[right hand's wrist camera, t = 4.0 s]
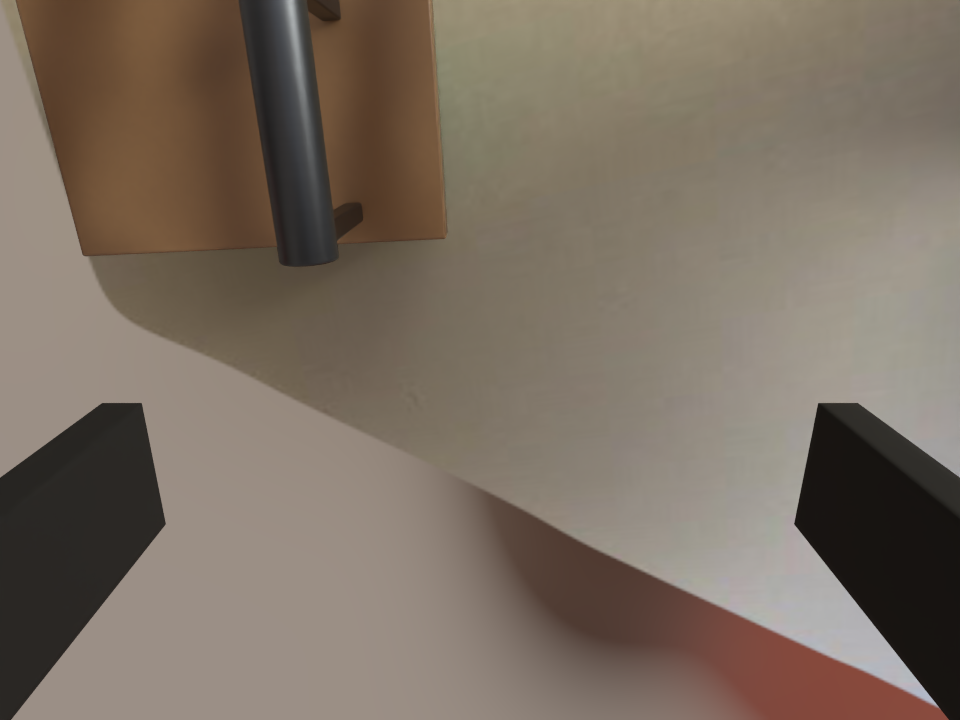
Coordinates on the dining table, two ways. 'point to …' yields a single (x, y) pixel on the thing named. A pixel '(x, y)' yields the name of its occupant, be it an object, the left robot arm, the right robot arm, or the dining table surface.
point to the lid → (242, 122)
